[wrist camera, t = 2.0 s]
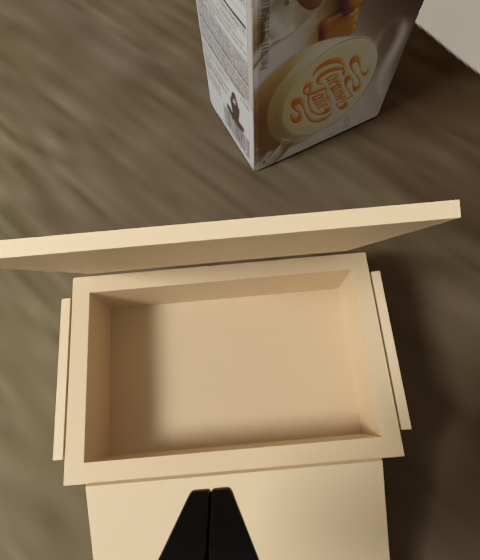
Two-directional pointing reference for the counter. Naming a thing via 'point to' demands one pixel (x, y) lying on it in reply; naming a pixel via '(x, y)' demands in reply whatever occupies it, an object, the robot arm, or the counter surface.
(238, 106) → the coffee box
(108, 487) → the carton
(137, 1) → the counter surface
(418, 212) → the flap
